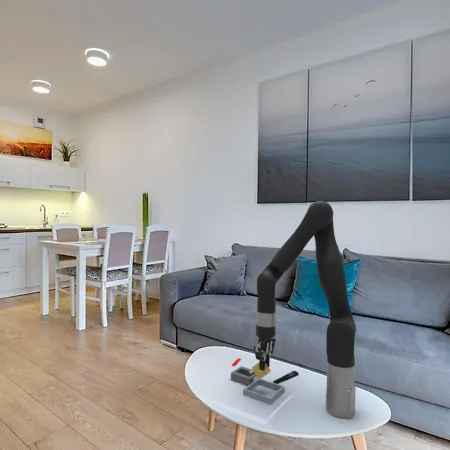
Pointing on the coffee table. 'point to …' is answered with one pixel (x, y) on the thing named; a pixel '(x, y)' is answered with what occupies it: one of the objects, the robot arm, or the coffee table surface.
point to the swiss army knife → (236, 362)
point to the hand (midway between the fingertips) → (264, 368)
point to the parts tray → (263, 398)
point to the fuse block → (243, 376)
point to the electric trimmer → (286, 377)
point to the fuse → (259, 371)
